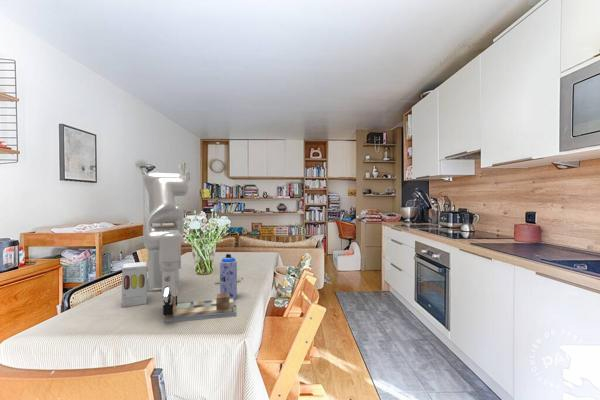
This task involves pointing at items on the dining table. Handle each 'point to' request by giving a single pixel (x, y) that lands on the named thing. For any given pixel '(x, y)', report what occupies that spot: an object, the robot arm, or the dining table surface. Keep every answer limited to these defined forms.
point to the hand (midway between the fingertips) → (170, 310)
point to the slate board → (202, 316)
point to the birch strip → (195, 310)
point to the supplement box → (134, 284)
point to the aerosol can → (228, 276)
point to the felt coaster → (183, 305)
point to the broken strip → (213, 303)
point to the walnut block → (222, 301)
